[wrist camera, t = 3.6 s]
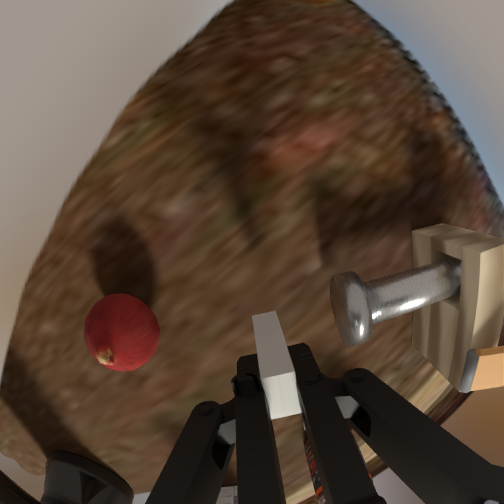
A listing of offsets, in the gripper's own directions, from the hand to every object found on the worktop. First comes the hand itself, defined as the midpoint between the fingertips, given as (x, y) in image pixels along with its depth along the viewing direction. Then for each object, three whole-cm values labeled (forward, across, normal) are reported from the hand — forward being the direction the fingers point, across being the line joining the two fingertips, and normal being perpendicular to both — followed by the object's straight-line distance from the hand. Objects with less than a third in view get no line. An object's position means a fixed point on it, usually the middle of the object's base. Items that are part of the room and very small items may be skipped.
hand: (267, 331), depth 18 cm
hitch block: (+6, -16, +3) cm, 17 cm away
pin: (+3, -12, 0) cm, 12 cm away
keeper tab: (-5, -17, +6) cm, 19 cm away
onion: (+6, +11, -1) cm, 12 cm away
